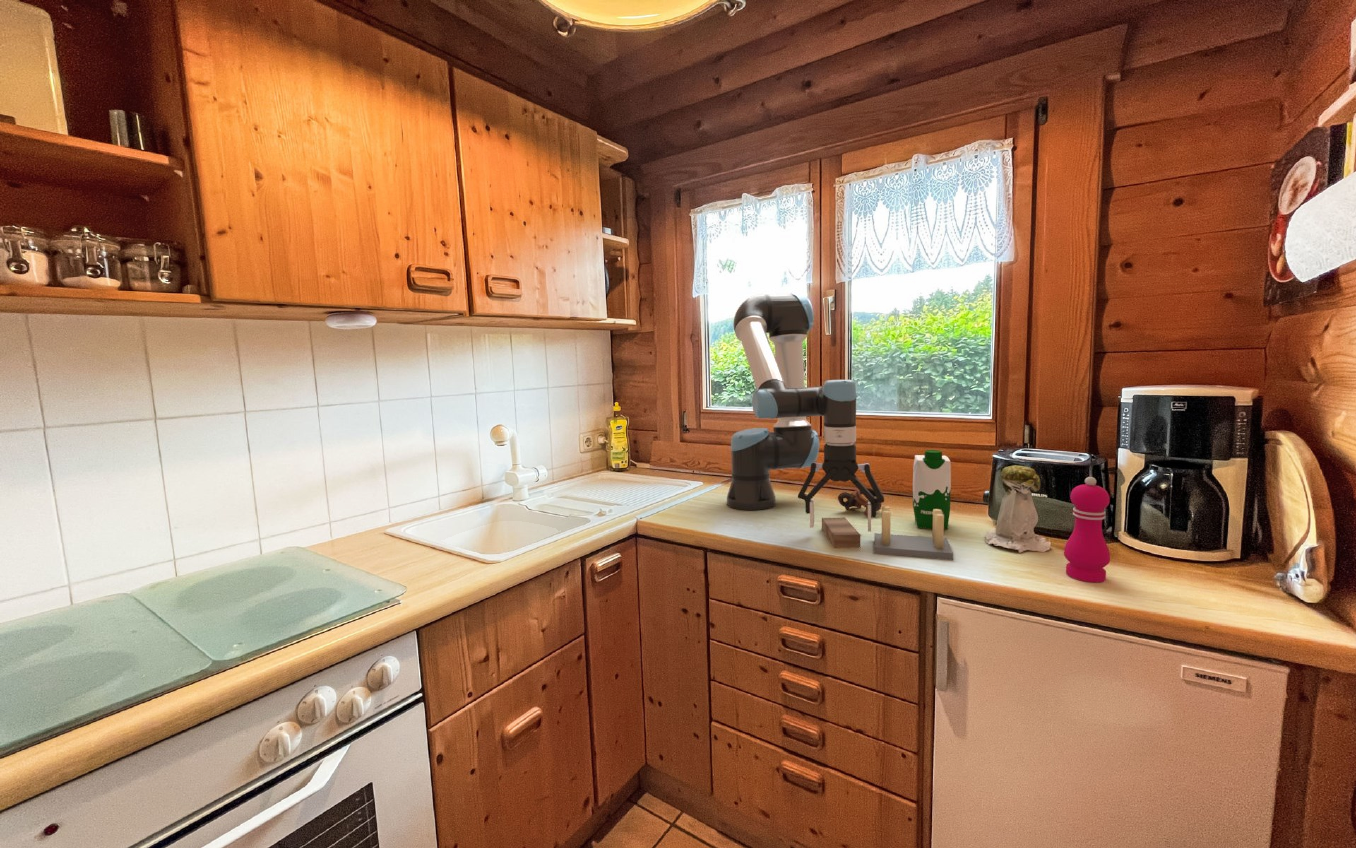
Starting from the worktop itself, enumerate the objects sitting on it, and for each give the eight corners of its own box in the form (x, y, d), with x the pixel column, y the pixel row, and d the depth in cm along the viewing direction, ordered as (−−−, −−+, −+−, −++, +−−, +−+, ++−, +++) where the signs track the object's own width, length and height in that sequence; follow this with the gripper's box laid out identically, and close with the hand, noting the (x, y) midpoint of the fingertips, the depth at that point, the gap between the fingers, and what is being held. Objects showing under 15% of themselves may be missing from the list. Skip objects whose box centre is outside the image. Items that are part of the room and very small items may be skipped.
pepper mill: (1053, 570, 108) (1058, 474, 105) (1086, 568, 108) (1092, 472, 106) (1083, 585, 101) (1089, 482, 98) (1119, 582, 101) (1125, 480, 99)
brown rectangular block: (860, 549, 125) (860, 534, 124) (834, 549, 125) (834, 535, 125) (845, 530, 139) (844, 517, 138) (821, 530, 139) (821, 517, 138)
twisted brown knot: (868, 507, 159) (880, 487, 154) (876, 530, 151) (889, 509, 146) (830, 499, 158) (841, 478, 153) (836, 521, 150) (847, 500, 145)
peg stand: (874, 553, 121) (874, 515, 120) (874, 539, 130) (874, 503, 129) (953, 559, 115) (953, 519, 114) (946, 544, 124) (947, 507, 123)
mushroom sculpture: (972, 537, 129) (975, 462, 127) (1023, 534, 130) (1026, 460, 128) (1006, 554, 117) (1009, 472, 115) (1061, 551, 118) (1065, 469, 116)
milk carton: (914, 529, 136) (915, 452, 134) (911, 518, 145) (912, 446, 142) (952, 531, 133) (954, 453, 131) (946, 520, 142) (948, 447, 140)
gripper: (785, 444, 130) (787, 529, 132) (895, 446, 121) (895, 536, 124) (790, 440, 137) (791, 520, 139) (894, 441, 128) (893, 526, 131)
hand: (840, 528), depth 131 cm, fingers open, 13 cm apart
